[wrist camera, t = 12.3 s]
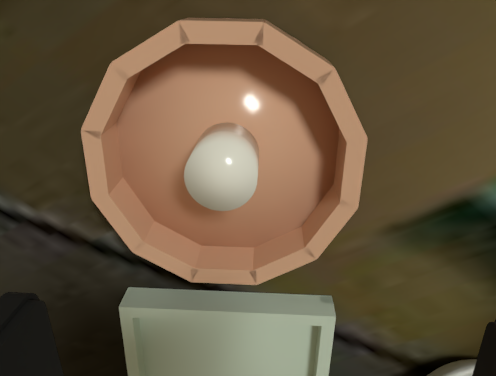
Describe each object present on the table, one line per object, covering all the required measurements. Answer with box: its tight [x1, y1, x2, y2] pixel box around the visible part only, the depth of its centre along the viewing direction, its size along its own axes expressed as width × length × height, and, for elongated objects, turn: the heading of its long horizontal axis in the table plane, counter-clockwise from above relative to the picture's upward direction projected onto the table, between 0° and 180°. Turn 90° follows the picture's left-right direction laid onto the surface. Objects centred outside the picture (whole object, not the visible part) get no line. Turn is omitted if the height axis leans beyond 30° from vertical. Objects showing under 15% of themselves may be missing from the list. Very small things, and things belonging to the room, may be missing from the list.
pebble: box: [184, 122, 259, 211], centre depth 27 cm, size 4×4×4 cm
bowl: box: [81, 18, 367, 285], centre depth 29 cm, size 17×17×4 cm
